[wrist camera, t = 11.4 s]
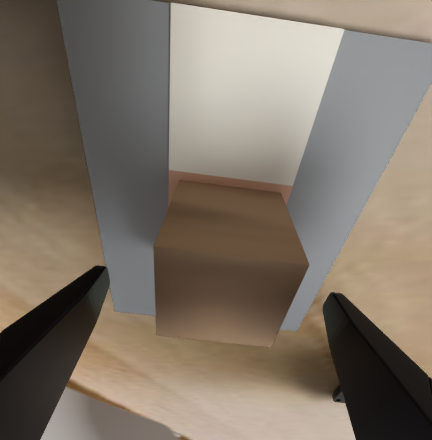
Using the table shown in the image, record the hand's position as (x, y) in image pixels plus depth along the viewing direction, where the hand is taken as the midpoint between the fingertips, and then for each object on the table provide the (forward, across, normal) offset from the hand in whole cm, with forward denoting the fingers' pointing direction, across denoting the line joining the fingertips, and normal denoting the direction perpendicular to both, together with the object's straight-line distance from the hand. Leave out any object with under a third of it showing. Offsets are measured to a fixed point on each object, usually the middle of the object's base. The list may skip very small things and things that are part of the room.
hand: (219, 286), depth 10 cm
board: (+5, 0, 0) cm, 5 cm away
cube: (+4, 0, 0) cm, 4 cm away
